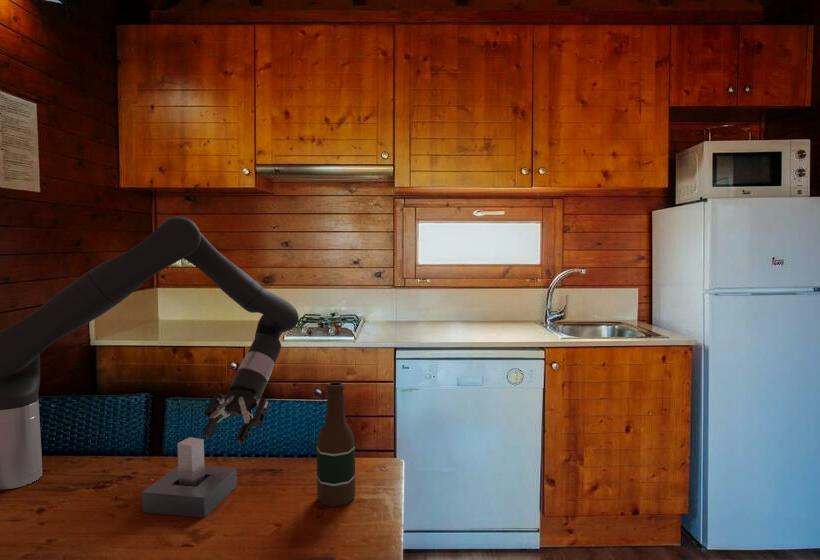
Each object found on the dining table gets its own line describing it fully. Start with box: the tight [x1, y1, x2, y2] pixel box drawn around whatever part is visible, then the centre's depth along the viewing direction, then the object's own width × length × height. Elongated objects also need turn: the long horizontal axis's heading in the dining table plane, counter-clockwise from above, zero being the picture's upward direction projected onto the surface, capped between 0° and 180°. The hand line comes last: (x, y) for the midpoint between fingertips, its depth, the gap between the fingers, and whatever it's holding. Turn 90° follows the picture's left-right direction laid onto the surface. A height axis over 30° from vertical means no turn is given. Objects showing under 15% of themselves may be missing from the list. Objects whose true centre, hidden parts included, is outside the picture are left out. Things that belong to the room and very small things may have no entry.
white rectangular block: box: [177, 436, 205, 487], centre depth 109 cm, size 4×4×12 cm
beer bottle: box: [316, 381, 356, 508], centre depth 109 cm, size 8×8×24 cm
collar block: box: [141, 465, 238, 518], centre depth 109 cm, size 13×13×4 cm
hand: (222, 439), depth 118 cm, fingers open, 8 cm apart
